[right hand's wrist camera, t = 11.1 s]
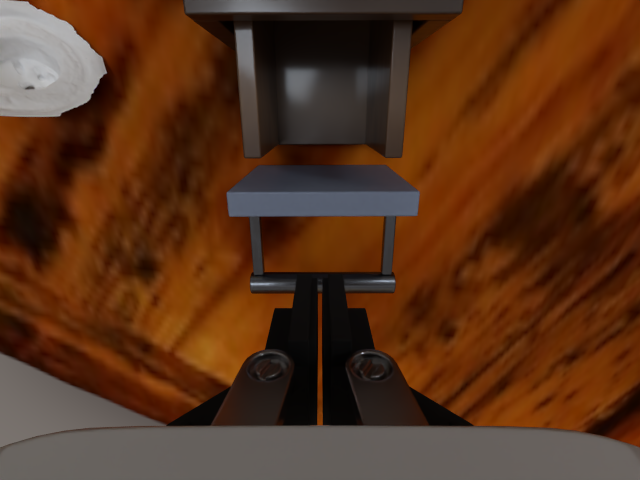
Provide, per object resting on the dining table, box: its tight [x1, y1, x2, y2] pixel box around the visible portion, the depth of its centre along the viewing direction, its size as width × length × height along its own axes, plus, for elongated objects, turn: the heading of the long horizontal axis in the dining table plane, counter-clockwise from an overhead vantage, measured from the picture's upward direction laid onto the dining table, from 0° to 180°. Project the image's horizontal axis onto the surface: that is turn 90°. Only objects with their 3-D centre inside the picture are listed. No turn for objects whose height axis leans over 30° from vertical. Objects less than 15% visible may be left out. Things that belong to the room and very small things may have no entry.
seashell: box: [0, 0, 107, 117], centre depth 20 cm, size 8×5×8 cm
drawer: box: [227, 20, 420, 294], centre depth 19 cm, size 18×9×9 cm, turn 0°
